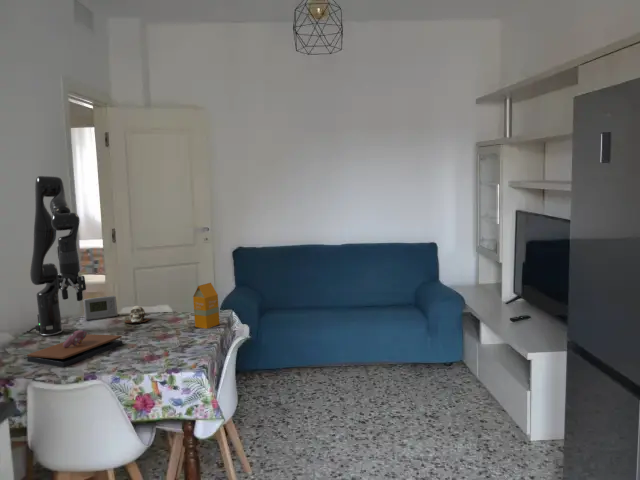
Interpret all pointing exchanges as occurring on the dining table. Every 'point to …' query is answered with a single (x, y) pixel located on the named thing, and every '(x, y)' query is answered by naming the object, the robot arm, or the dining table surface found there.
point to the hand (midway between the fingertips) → (72, 299)
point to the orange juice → (206, 306)
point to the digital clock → (100, 307)
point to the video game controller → (75, 338)
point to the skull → (137, 315)
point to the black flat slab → (77, 355)
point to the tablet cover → (74, 347)
